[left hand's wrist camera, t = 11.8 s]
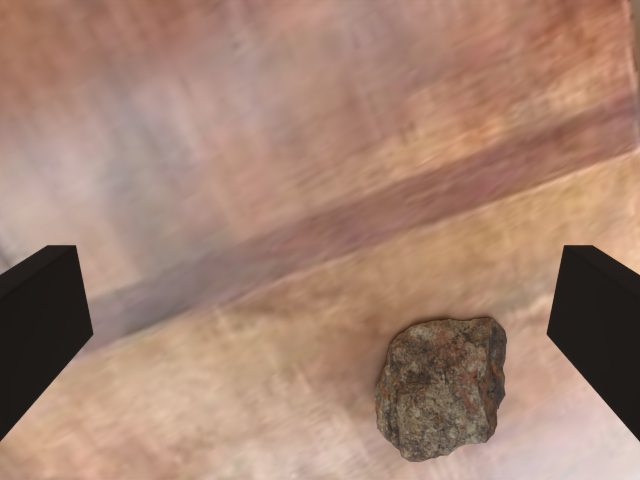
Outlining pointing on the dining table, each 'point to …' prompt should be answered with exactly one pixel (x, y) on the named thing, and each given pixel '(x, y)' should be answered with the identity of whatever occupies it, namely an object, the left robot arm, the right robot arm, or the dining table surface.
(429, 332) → the rock
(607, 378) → the left robot arm
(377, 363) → the dining table surface
